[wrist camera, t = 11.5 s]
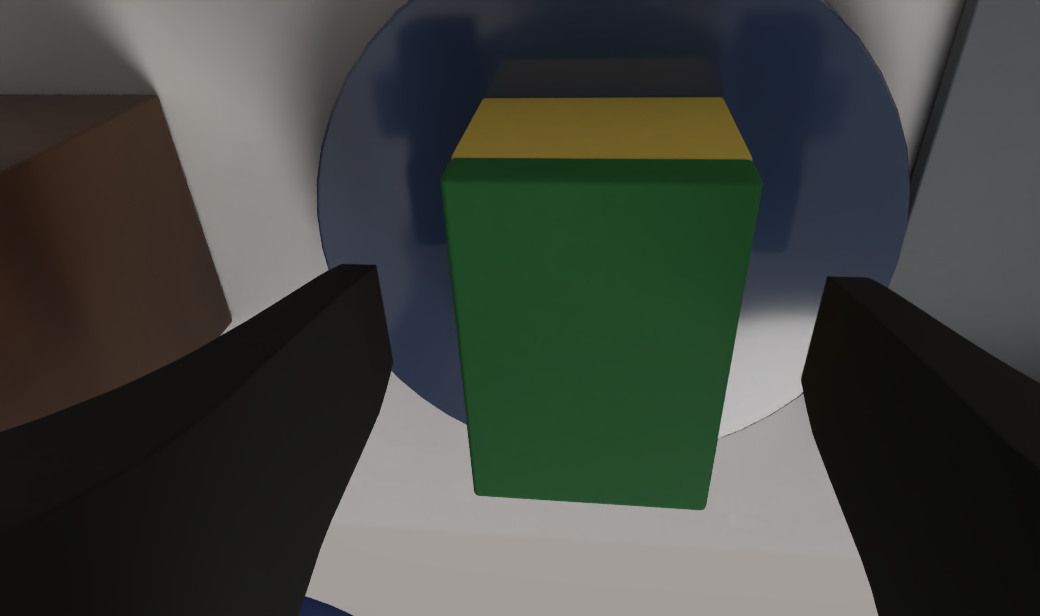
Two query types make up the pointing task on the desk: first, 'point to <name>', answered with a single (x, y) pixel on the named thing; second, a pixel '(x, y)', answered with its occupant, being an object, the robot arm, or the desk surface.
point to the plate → (621, 74)
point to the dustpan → (982, 189)
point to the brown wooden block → (95, 252)
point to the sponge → (598, 293)
